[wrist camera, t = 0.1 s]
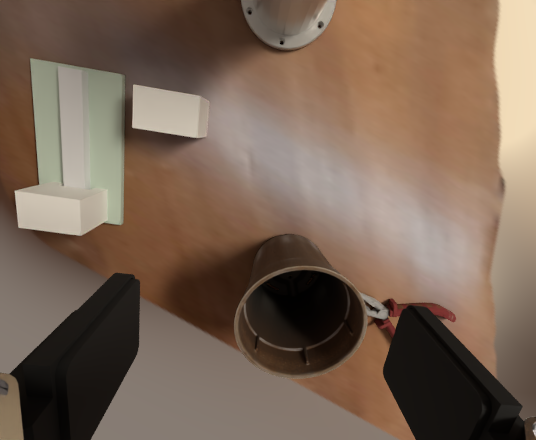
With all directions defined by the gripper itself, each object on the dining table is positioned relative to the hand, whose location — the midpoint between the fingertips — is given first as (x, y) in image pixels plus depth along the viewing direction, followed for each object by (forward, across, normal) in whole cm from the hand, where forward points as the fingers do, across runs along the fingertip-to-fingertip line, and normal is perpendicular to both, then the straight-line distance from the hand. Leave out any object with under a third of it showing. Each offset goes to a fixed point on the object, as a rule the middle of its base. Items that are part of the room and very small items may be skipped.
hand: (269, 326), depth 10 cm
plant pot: (+37, -7, +15) cm, 41 cm away
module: (+37, +13, -7) cm, 40 cm away
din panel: (+37, +27, 0) cm, 45 cm away
